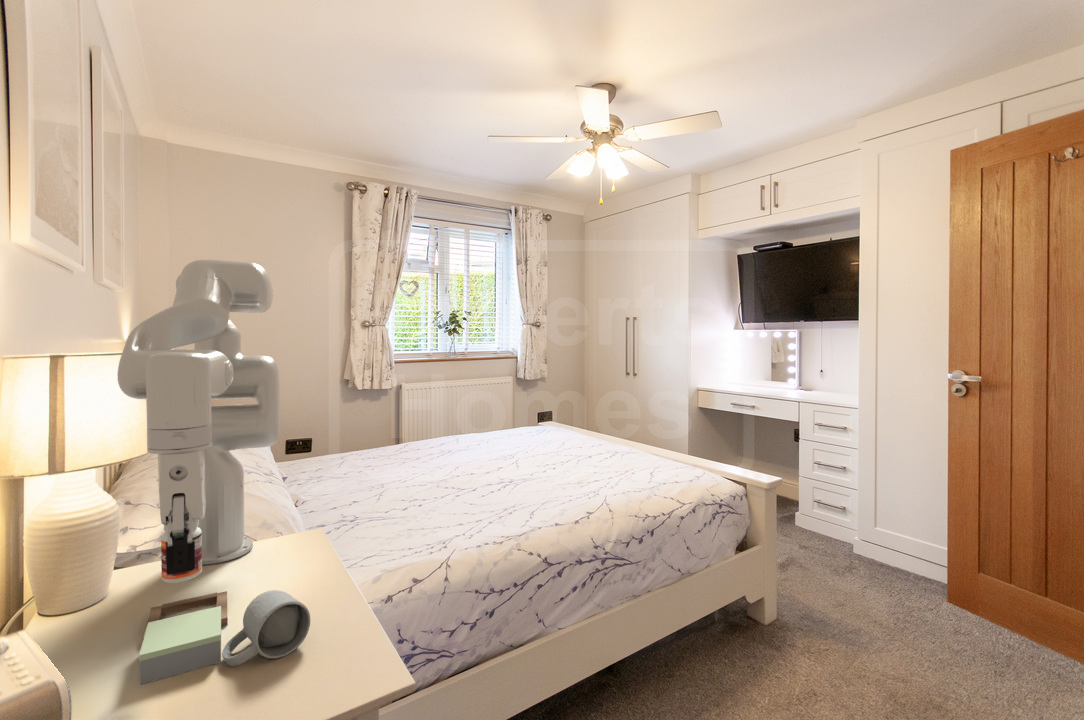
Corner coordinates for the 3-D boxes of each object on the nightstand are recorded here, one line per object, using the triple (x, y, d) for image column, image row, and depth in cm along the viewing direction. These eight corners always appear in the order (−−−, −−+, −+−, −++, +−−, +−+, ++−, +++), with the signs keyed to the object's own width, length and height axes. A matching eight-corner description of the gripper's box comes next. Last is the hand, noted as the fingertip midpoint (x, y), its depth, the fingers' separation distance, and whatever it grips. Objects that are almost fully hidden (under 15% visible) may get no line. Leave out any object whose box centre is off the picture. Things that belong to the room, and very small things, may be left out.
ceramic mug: (290, 623, 82) (289, 577, 81) (312, 644, 76) (310, 594, 76) (215, 654, 74) (213, 603, 73) (233, 680, 68) (231, 625, 68)
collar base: (151, 613, 84) (151, 606, 84) (227, 596, 90) (227, 590, 90) (142, 647, 75) (142, 639, 75) (227, 625, 81) (227, 618, 81)
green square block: (148, 649, 75) (148, 622, 74) (221, 630, 79) (221, 605, 79) (139, 684, 67) (139, 655, 67) (221, 662, 72) (220, 634, 72)
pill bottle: (152, 581, 71) (151, 522, 70) (183, 567, 75) (182, 511, 75) (181, 585, 70) (180, 525, 70) (210, 570, 74) (209, 514, 74)
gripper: (210, 446, 67) (212, 581, 67) (212, 427, 81) (214, 539, 82) (138, 452, 63) (141, 596, 63) (154, 431, 77) (156, 549, 78)
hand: (182, 562), depth 73 cm, fingers closed on pill bottle, 4 cm apart
